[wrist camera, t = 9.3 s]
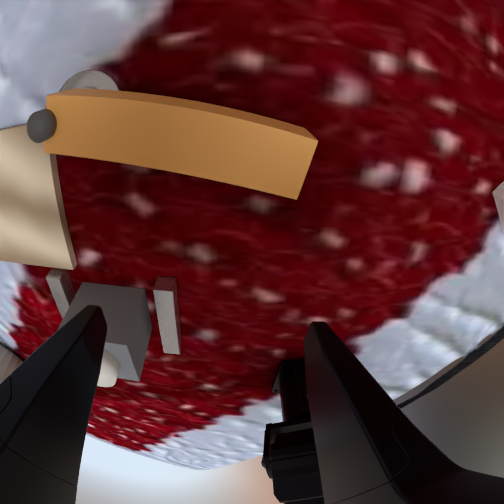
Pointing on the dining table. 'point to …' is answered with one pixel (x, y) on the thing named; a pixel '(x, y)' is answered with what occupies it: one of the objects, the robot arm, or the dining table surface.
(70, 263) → the board
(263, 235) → the dining table surface
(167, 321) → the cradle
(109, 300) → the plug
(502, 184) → the white angled block
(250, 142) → the latch
